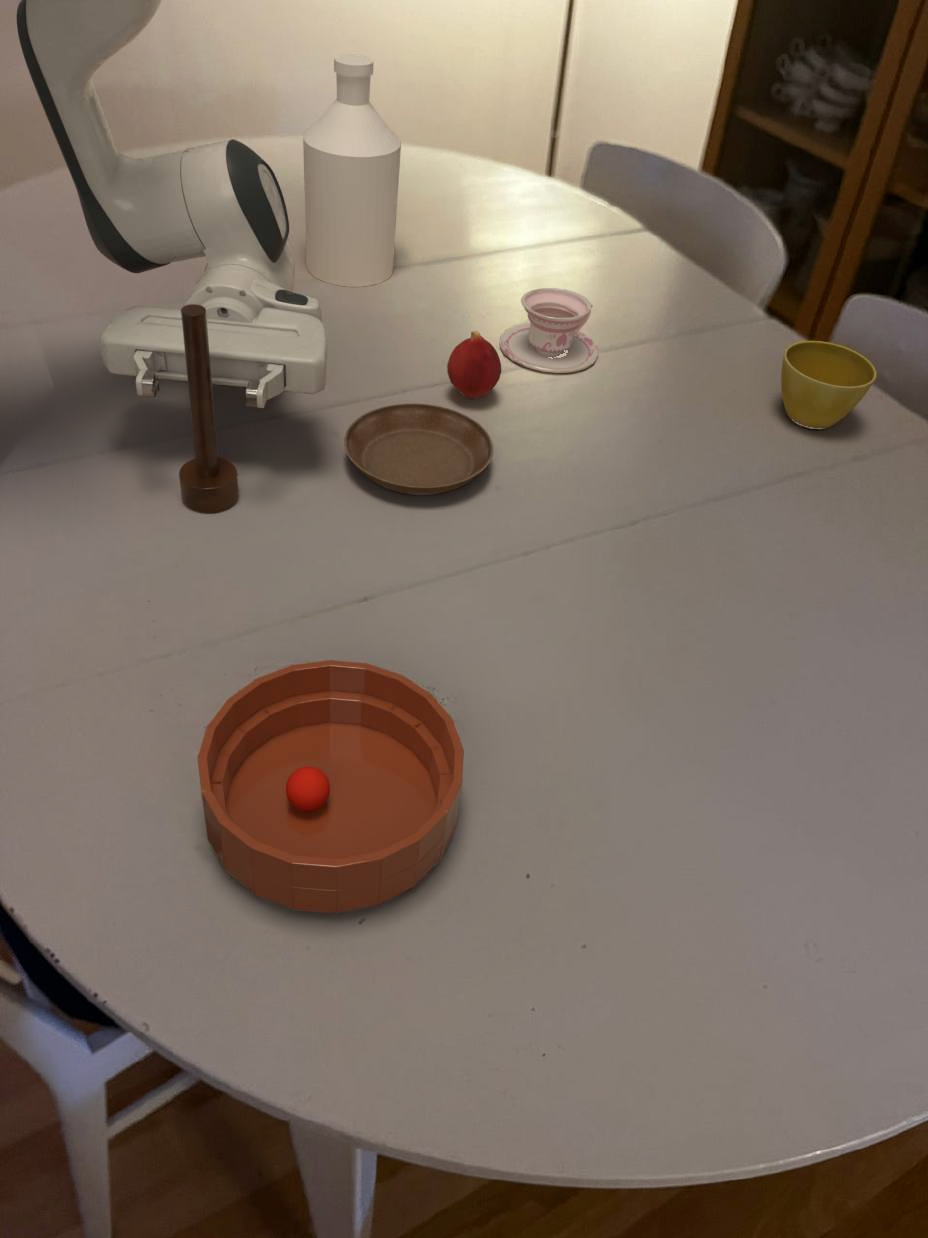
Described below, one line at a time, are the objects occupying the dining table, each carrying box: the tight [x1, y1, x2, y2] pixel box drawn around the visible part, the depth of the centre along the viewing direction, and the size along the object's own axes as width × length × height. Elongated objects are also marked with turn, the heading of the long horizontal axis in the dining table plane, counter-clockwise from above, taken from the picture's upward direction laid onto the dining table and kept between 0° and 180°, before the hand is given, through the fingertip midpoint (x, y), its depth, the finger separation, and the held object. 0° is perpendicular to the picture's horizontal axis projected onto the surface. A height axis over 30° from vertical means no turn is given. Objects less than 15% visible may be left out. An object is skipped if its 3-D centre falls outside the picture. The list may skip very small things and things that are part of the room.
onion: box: [446, 330, 502, 401], centre depth 111 cm, size 6×6×8 cm
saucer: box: [343, 403, 494, 496], centre depth 102 cm, size 15×15×3 cm
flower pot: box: [780, 340, 877, 429], centre depth 115 cm, size 10×10×7 cm
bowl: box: [196, 659, 465, 914], centre depth 69 cm, size 17×17×6 cm
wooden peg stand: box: [178, 304, 240, 514], centre depth 90 cm, size 5×5×19 cm
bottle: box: [302, 53, 402, 288], centre depth 126 cm, size 12×12×25 cm
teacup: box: [499, 287, 599, 374], centre depth 121 cm, size 12×12×6 cm
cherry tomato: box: [286, 766, 330, 811], centre depth 69 cm, size 3×3×3 cm
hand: (199, 394), depth 88 cm, fingers open, 8 cm apart
